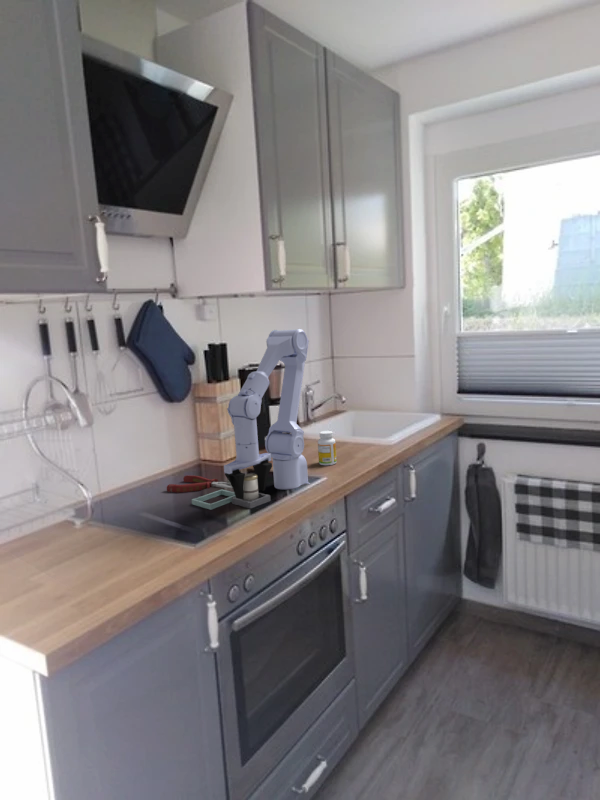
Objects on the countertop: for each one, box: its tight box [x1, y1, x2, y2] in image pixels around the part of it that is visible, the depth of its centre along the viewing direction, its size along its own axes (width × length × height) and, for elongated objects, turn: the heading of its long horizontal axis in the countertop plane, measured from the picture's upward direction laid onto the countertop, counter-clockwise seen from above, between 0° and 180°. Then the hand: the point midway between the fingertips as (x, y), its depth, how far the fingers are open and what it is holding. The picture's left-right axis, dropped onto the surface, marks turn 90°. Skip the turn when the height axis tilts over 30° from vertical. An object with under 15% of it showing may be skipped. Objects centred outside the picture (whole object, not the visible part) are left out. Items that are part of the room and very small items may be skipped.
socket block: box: [231, 492, 271, 509], centre depth 149 cm, size 7×7×2 cm
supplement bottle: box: [317, 430, 337, 466], centre depth 185 cm, size 6×6×10 cm
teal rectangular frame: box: [191, 488, 236, 510], centre depth 152 cm, size 10×8×2 cm
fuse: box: [243, 473, 260, 502], centre depth 149 cm, size 4×4×7 cm
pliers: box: [166, 474, 233, 494], centre depth 167 cm, size 12×20×3 cm, turn 70°
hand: (250, 494), depth 149 cm, fingers open, 7 cm apart
